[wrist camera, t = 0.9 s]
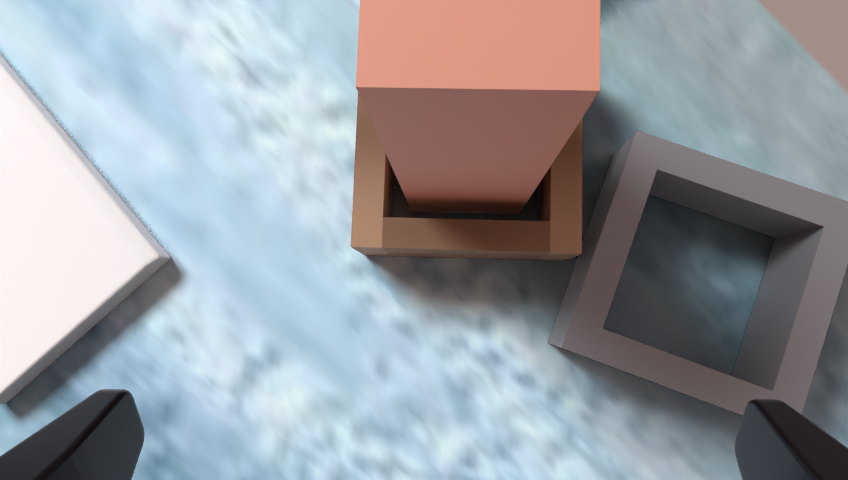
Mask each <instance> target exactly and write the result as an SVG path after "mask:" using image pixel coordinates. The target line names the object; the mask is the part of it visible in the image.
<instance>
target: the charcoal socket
mask: <svg viewBox="0 0 848 480" xmlns="http://www.w3.org/2000/svg"><path fill="white" fill-rule="evenodd" d="M649 194H650V195H653V196H656V197H659V198H662V199H665V200H668V201H670V202H673V203H676V204H679V205H682V206H685V207H688V208H691V209H694V210H696V211H699V212H702V213H705V214H708V215H711V216H714V217H717V218H720V219H722V220H725V221H728V222H731V223H734V224H737V225H740V226H743V227H746V228H748V229H751V230H754V231H757V232H760V233H763V234H766V235H769V236H771V237H774V238H775V240H774V244H773V247H772V250H771V253H770V256H769V259H768V262H767V265H766V269H765V272H764V275H763V278H762V281H761V284H760V287H759V290H758V294H757V297H756V300H755V303H754V306H753V309H752V312H751V315H750V319H749V322H748V325H747V328H746V331H745V334H744V337H743V340H742V344H741V347H740V350H739V353H738V356H737V359H736V362H735V365H734V369H733V372H732V375H731V376H730V375H727V374H725V373H722V372H719V371H717V370H714V369H711V368H708V367H706V366H703V365H700V364H698V363H695V362H692V361H689V360H687V359H684V358H681V357H679V356H676V355H673V354H670V353H668V352H665V351H662V350H660V349H657V348H654V347H651V346H649V345H646V344H643V343H641V342H638V341H635V340H632V339H630V338H627V337H624V336H622V335H619V334H616V333H613V332H611V331H608V330H605V329H603V326H604V323H605V321H606V318H607V315H608V312H609V309H610V306H611V303H612V300H613V297H614V294H615V291H616V288H617V285H618V282H619V280H620V277H621V274H622V271H623V268H624V265H625V262H626V259H627V256H628V253H629V250H630V247H631V244H632V242H633V239H634V236H635V233H636V230H637V227H638V224H639V221H640V218H641V215H642V212H643V209H644V206H645V204H646V201H647V198H648V195H649ZM847 266H848V202H847V201H844V200H841V199H838V198H835V197H832V196H829V195H826V194H823V193H820V192H817V191H815V190H812V189H809V188H806V187H803V186H800V185H797V184H794V183H791V182H788V181H785V180H782V179H779V178H776V177H773V176H770V175H767V174H764V173H761V172H758V171H755V170H752V169H749V168H746V167H743V166H741V165H738V164H735V163H732V162H729V161H726V160H723V159H720V158H717V157H714V156H711V155H708V154H705V153H702V152H699V151H696V150H693V149H690V148H687V147H684V146H681V145H678V144H675V143H672V142H670V141H667V140H664V139H661V138H658V137H655V136H652V135H649V134H646V133H643V132H640V131H636V132H635V133H634V134H633V135H632V136H631V137H630V138H629V139H628V140H627V141H626V142H625V143H624V144H623V145H622V146H621V147H620V148H619V149H618V150H617V151H616V152H615V153H614V154H613V157H612V160H611V163H610V166H609V168H608V171H607V174H606V177H605V180H604V183H603V186H602V189H601V191H600V194H599V197H598V200H597V203H596V206H595V209H594V211H593V214H592V217H591V220H590V223H589V226H588V229H587V231H586V234H585V237H584V240H583V243H582V254H580V255H578V257H577V260H576V263H575V266H574V269H573V271H572V274H571V277H570V280H569V283H568V286H567V289H566V292H565V294H564V297H563V300H562V303H561V306H560V309H559V312H558V314H557V317H556V320H555V323H554V326H553V329H552V332H551V334H550V337H549V340H548V343H550V344H552V345H555V346H558V347H560V348H563V349H566V350H568V351H571V352H574V353H577V354H579V355H582V356H585V357H587V358H590V359H593V360H595V361H598V362H601V363H603V364H606V365H609V366H611V367H614V368H617V369H619V370H622V371H625V372H627V373H630V374H633V375H635V376H638V377H641V378H643V379H646V380H649V381H651V382H654V383H657V384H659V385H662V386H665V387H667V388H670V389H673V390H676V391H678V392H681V393H684V394H686V395H689V396H692V397H694V398H697V399H700V400H702V401H705V402H708V403H710V404H713V405H716V406H718V407H721V408H724V409H726V410H729V411H732V412H734V413H737V414H740V415H742V416H743V413H744V410H745V407H746V405H747V403H748V402H749V401H750V400H753V399H776V400H781V401H783V402H785V403H786V404H788V405H789V406H790V407H792V408H793V409H795V410H796V411H797V412H799V413H800V414H801V415H802V412H803V409H804V405H805V402H806V399H807V396H808V392H809V389H810V386H811V383H812V379H813V376H814V373H815V370H816V366H817V363H818V360H819V357H820V353H821V350H822V347H823V344H824V340H825V337H826V334H827V331H828V327H829V324H830V321H831V318H832V314H833V311H834V308H835V305H836V301H837V298H838V295H839V292H840V288H841V285H842V282H843V279H844V275H845V272H846V269H847Z"/></svg>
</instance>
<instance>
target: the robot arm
mask: <svg viewBox="0 0 848 480" xmlns="http://www.w3.org/2000/svg"><path fill="white" fill-rule="evenodd" d="M143 442H144V428H143V424H142V421H141V418H140V416H139V413H138V410H137V407H136V404H135V401H134V398H133V396H132V394H131V393H130V392H129V391H128V390H124V389H103V390H99V391H97V392H95V393H94V394H92V395H91V396H89V397H88V398H86V399H85V400H83V401H82V402H80V403H79V404H77V405H76V406H74V407H73V408H71V409H70V410H68V411H67V412H65V413H64V414H63V415H61V416H60V417H58V418H57V419H55V420H54V421H52V422H51V423H49V424H48V425H46V426H45V427H43V428H42V429H40V430H39V431H37V432H36V433H34V434H33V435H31V436H30V437H28V438H27V439H25V440H24V441H22V442H21V443H19V444H18V445H16V446H15V447H13V448H12V449H11V450H9V451H8V452H6V453H5V454H3V455H2V456H0V480H131V479H132V476H133V473H134V470H135V467H136V464H137V461H138V458H139V455H140V452H141V449H142V446H143ZM735 455H736V459H737V462H738V466H739V469H740V473H741V476H742V479H743V480H848V448H847V447H845V446H844V445H843V444H841V443H840V442H838V441H837V440H836V439H834V438H833V437H832V436H830V435H829V434H827V433H826V432H825V431H823V430H822V429H821V428H819V427H818V426H816V425H815V424H814V423H812V422H811V421H810V420H808V419H807V418H805V417H804V416H803V415H801V414H800V413H799V412H797V411H796V410H795V409H793V408H792V407H790V406H789V405H788V404H786V403H785V402H783V401H781V400H776V399H753V400H750V401H749V402H748V403H747V405H746V407H745V410H744V413H743V416H742V419H741V422H740V425H739V429H738V432H737V435H736V438H735Z"/></svg>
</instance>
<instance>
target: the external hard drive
mask: <svg viewBox="0 0 848 480" xmlns="http://www.w3.org/2000/svg"><path fill="white" fill-rule="evenodd" d="M170 259H171V257H170V255H169V254H168V252H167V251H166V250H165V249H164V248H163V247H162V246H161V244H160V243H159V242H158V241H157V240H156V238H155V237H154V236H153V235H152V234H151V232H150V231H149V230H148V229H147V228H146V226H145V225H144V224H143V223H142V221H141V220H140V219H139V218H138V217H137V216H136V214H135V213H134V212H133V211H132V210H131V209H130V207H129V206H128V205H127V204H126V203H125V201H124V200H123V199H122V198H121V197H120V196H119V194H118V193H117V192H116V191H115V190H114V188H113V187H112V186H111V185H110V184H109V182H108V181H107V180H106V179H105V178H104V176H103V175H102V174H101V173H100V171H99V170H98V169H97V168H96V167H95V166H94V164H93V163H92V162H91V161H90V160H89V159H88V157H87V156H86V155H85V154H84V152H83V151H82V150H81V149H80V148H79V146H78V145H77V144H76V143H75V142H74V141H73V139H72V138H71V137H70V136H69V134H68V133H67V132H66V131H65V130H64V128H63V127H62V126H61V125H60V124H59V123H58V121H57V120H56V119H55V118H54V117H53V115H52V114H51V113H50V112H49V111H48V110H47V108H46V107H45V106H44V104H43V103H42V102H41V101H40V100H39V99H38V97H37V96H36V95H35V94H34V93H33V92H32V90H31V89H30V88H29V87H28V86H27V84H26V83H25V82H24V81H23V80H22V78H21V77H20V76H19V75H18V74H17V72H16V71H15V70H14V69H13V68H12V67H11V65H10V64H9V63H8V62H7V61H6V59H5V58H4V57H3V56H2V55H1V54H0V405H1V404H5V403H7V402H8V401H10V400H11V399H12V398H13V397H14V396H15V395H16V394H18V393H19V392H20V391H21V390H22V389H23V388H24V387H26V386H27V385H28V384H29V383H30V382H31V381H32V380H33V379H35V378H36V377H37V376H38V375H39V374H40V373H41V372H42V371H44V370H45V369H46V368H47V367H48V366H49V365H50V364H52V363H53V362H54V361H55V360H56V359H57V358H58V357H60V356H61V355H62V354H63V353H64V352H65V351H66V350H68V349H69V348H70V347H71V346H72V345H73V344H74V343H75V342H77V341H78V340H79V339H80V338H81V337H82V336H83V335H85V334H86V333H87V332H88V331H89V330H90V329H91V328H92V327H94V326H95V325H96V324H97V323H98V322H99V321H100V320H102V319H103V318H104V317H105V316H106V315H107V314H108V313H110V312H111V311H112V310H113V309H114V308H115V307H116V306H117V305H119V304H120V303H121V302H122V301H123V300H124V299H126V298H127V297H128V296H129V295H130V294H131V293H132V292H133V291H135V290H136V289H137V288H138V287H139V286H140V285H141V284H143V283H144V282H145V281H146V280H147V279H148V278H149V277H151V276H152V275H153V274H154V273H155V272H156V271H157V270H159V269H160V268H161V267H162V266H163V265H164V264H166V263H167V262H168V261H169V260H170Z"/></svg>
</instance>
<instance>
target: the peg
mask: <svg viewBox="0 0 848 480" xmlns="http://www.w3.org/2000/svg"><path fill="white" fill-rule="evenodd" d="M356 88H357V90H358V93H359V95H360V97H361V99H362V101H363V104H364V106H365V108H366V110H367V113H368V115H369V117H370V119H371V122H372V124H373V126H374V128H375V131H376V133H377V135H378V137H379V139H380V142H381V144H382V146H383V148H384V151H385V153H386V155H387V157H388V160H389V162H390V164H391V166H392V168H393V171H394V173H395V175H396V177H397V180H398V182H399V184H400V186H401V189H402V191H403V193H404V195H405V198H406V200H407V202H408V204H409V206H410V209H411V211H421V212H460V213H499V214H520V212H521V211H522V209H523V208H524V206H525V204H526V203H527V201H528V200H529V198H530V197H531V195H532V194H533V192H534V191H535V189H536V188H537V186H538V185H539V183H540V182H541V180H542V179H543V177H544V175H545V174H546V172H547V171H548V169H549V168H550V166H551V165H552V163H553V162H554V160H555V159H556V157H557V156H558V154H559V153H560V151H561V149H562V148H563V146H564V145H565V143H566V142H567V140H568V139H569V137H570V136H571V134H572V133H573V131H574V130H575V128H576V127H577V125H578V123H579V122H580V120H581V119H582V117H583V116H584V114H585V113H586V111H587V110H588V108H589V107H590V105H591V104H592V102H593V101H594V99H595V97H596V96H597V94H598V93H599V91H600V0H360V15H359V36H358V57H357V78H356Z"/></svg>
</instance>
